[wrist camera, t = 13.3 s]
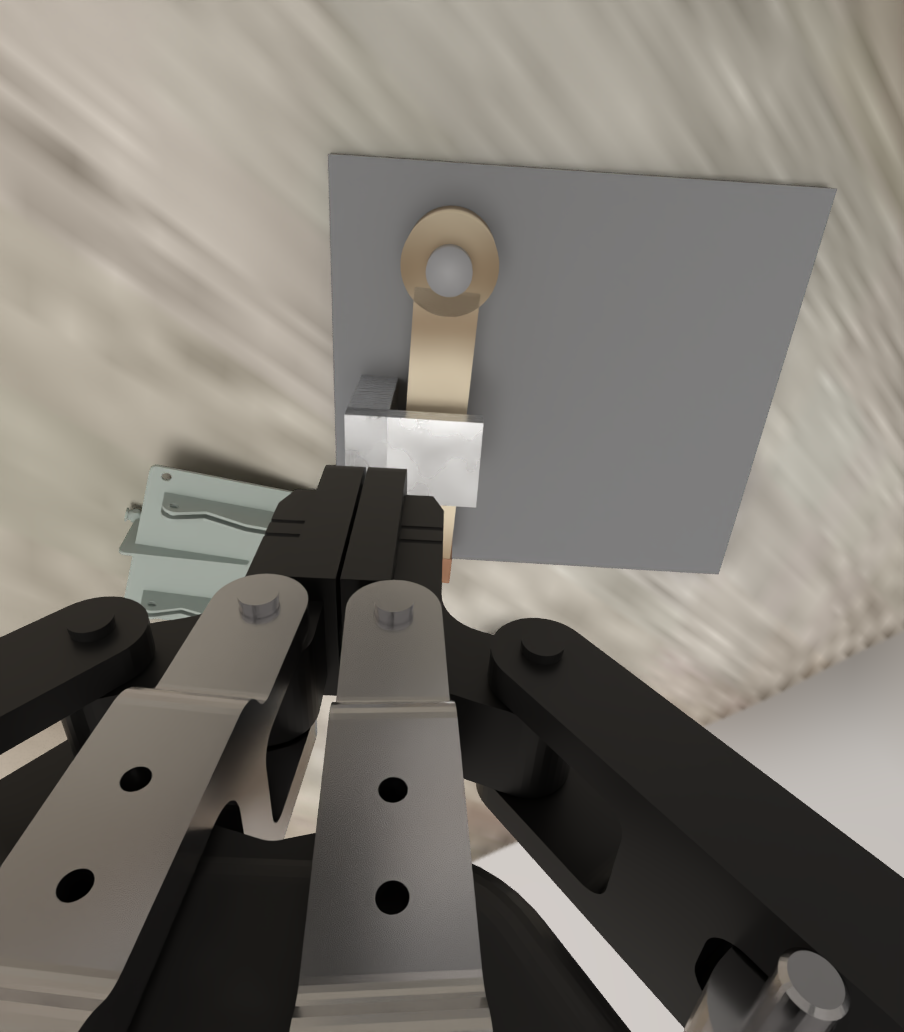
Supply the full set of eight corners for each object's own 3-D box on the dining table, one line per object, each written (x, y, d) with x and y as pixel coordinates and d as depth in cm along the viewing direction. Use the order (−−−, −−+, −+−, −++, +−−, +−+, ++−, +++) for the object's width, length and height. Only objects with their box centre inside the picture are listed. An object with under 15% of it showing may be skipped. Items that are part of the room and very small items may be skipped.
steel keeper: (361, 374, 37) (344, 414, 31) (480, 382, 37) (483, 423, 32) (361, 450, 39) (346, 499, 34) (474, 457, 39) (476, 507, 34)
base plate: (331, 153, 32) (303, 157, 27) (827, 187, 33) (903, 198, 27) (341, 543, 43) (322, 604, 37) (713, 565, 43) (750, 629, 38)
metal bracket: (96, 657, 41) (135, 446, 34) (111, 594, 46) (148, 397, 39) (325, 676, 47) (398, 500, 40) (318, 619, 51) (382, 452, 45)
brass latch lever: (409, 200, 32) (403, 207, 29) (501, 210, 32) (505, 219, 29) (388, 542, 41) (382, 577, 38) (459, 549, 42) (459, 583, 38)
